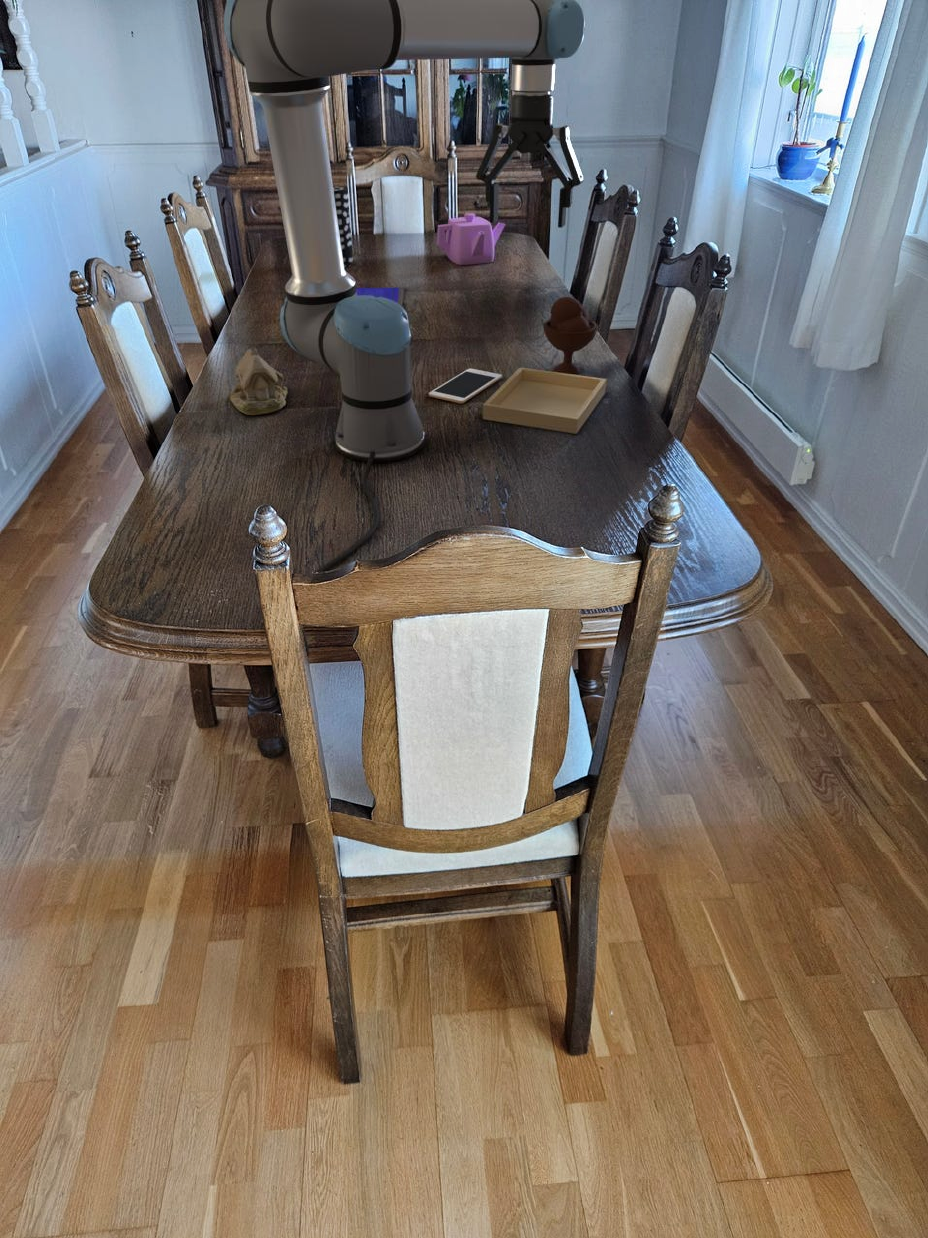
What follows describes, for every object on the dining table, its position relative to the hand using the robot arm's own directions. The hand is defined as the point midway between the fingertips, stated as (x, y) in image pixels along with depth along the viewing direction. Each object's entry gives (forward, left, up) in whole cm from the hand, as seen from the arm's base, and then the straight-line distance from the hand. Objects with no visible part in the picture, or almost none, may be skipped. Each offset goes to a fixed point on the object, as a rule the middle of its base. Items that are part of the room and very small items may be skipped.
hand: (527, 223), depth 159 cm
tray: (-20, -12, -27) cm, 36 cm away
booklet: (+27, +49, -27) cm, 62 cm away
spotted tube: (+60, +77, -27) cm, 101 cm away
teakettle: (+80, +43, -27) cm, 94 cm away
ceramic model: (-38, +40, -27) cm, 62 cm away
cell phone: (-17, +6, -27) cm, 33 cm away
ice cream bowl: (-1, -10, -27) cm, 29 cm away
